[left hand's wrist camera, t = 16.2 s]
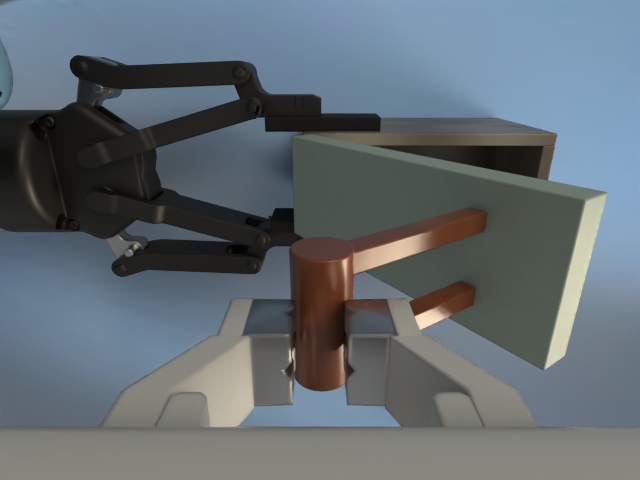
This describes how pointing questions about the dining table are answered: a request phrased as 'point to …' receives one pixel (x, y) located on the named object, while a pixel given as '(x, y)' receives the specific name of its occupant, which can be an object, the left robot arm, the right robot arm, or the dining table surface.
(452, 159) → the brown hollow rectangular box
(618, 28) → the dining table surface
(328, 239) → the lid
